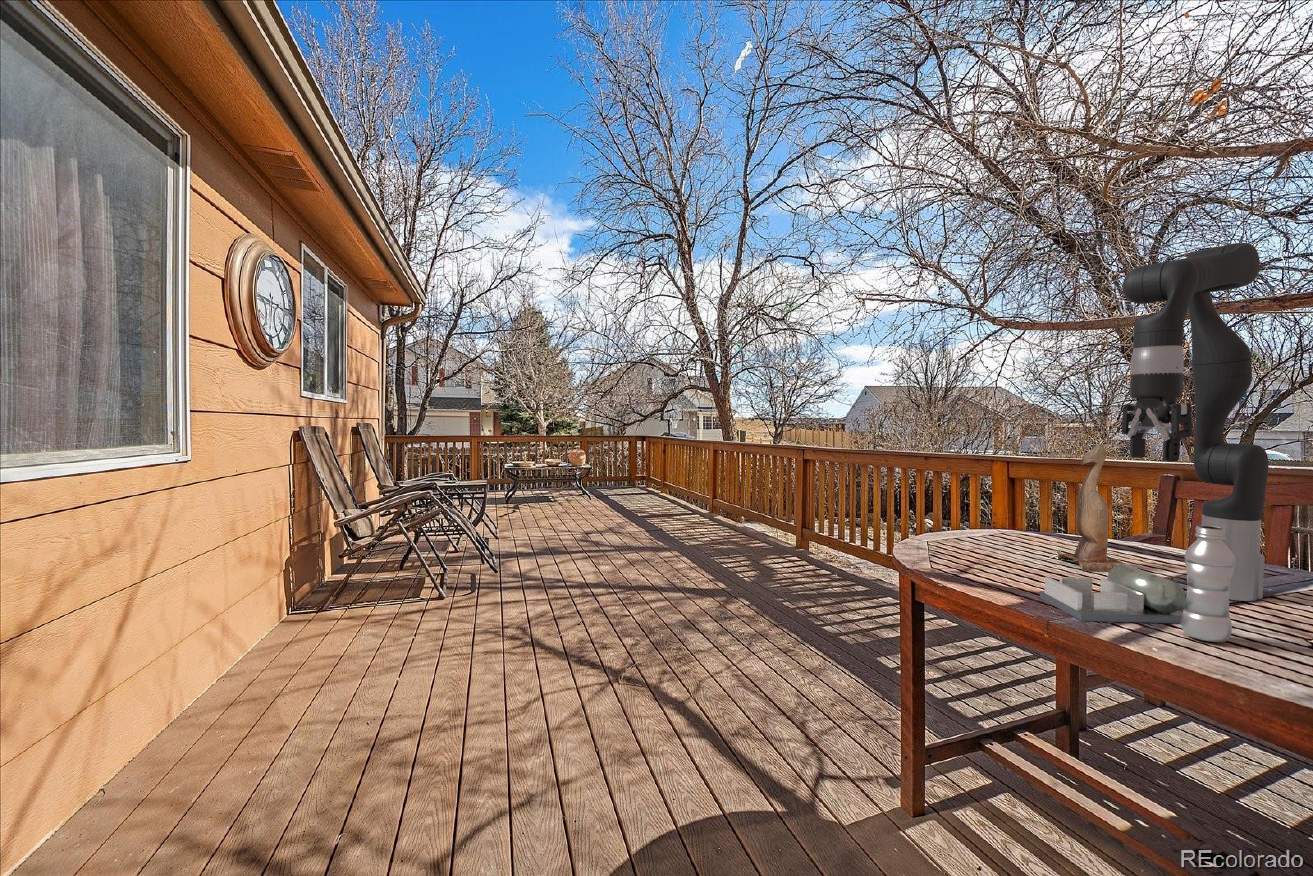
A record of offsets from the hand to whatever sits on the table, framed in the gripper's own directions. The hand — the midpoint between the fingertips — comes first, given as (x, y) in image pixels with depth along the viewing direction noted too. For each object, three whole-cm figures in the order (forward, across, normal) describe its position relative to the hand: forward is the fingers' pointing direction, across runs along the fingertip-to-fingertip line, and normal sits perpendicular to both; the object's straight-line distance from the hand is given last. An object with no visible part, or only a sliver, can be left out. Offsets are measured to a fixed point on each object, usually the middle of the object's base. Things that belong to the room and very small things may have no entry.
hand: (1153, 459), depth 110 cm
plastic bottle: (+32, -7, -5) cm, 33 cm away
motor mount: (+31, +8, +1) cm, 32 cm away
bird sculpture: (+32, +44, -16) cm, 56 cm away
